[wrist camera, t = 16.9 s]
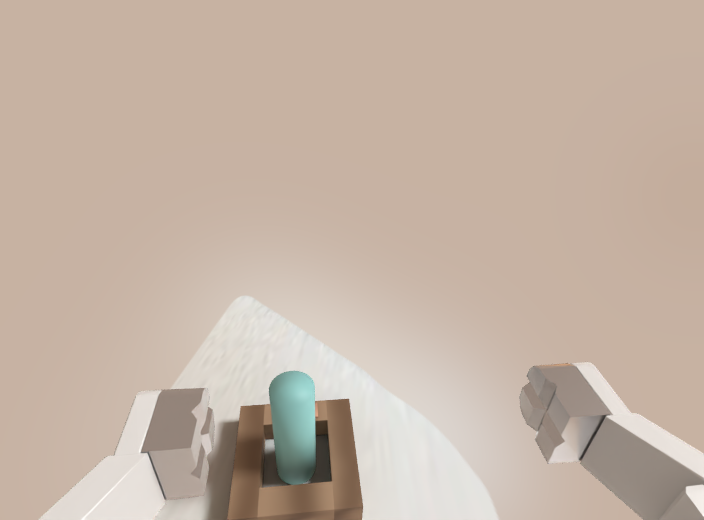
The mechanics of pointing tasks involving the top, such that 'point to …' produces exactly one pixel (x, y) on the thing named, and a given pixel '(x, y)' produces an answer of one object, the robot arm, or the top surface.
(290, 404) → the teal peg
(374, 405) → the top surface
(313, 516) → the hole plate
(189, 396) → the robot arm
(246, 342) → the top surface
